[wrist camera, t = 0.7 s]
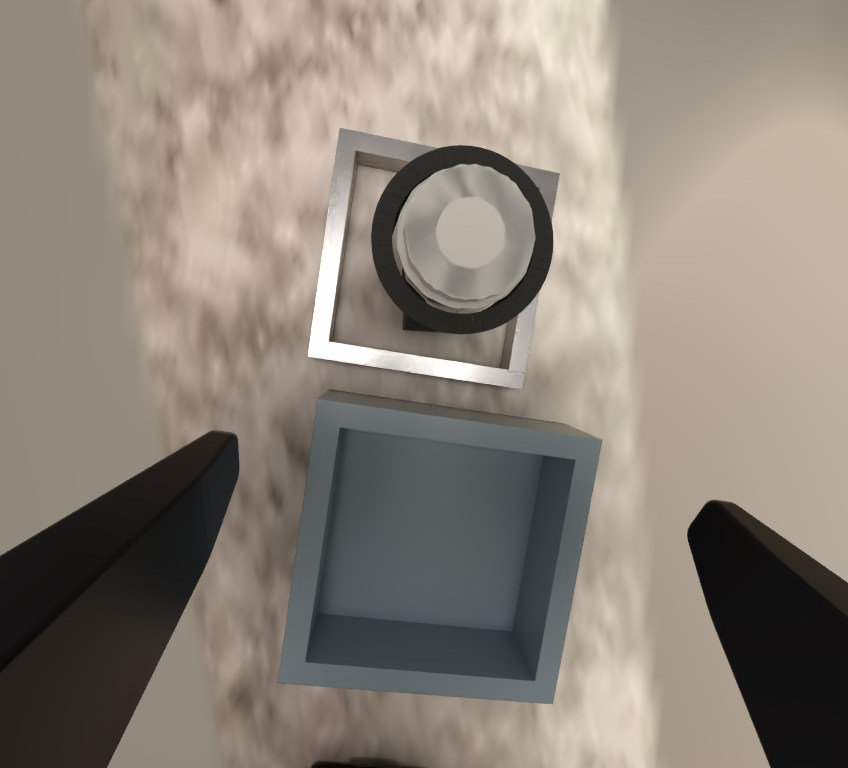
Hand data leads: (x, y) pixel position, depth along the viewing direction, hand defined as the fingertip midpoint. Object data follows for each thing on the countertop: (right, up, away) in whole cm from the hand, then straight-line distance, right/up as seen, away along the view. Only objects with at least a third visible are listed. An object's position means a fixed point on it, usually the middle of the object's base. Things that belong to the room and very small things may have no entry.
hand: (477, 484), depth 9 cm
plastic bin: (-1, -5, +15) cm, 15 cm away
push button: (-1, +7, +14) cm, 16 cm away
